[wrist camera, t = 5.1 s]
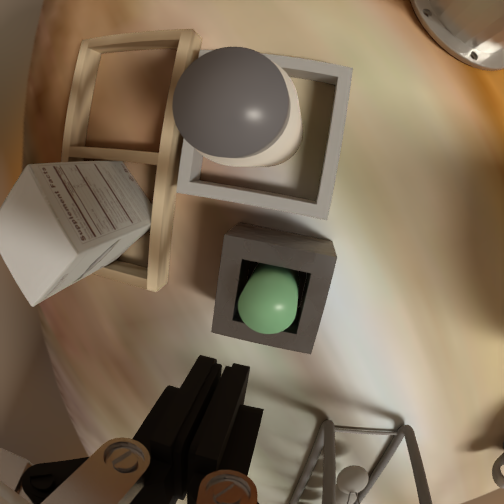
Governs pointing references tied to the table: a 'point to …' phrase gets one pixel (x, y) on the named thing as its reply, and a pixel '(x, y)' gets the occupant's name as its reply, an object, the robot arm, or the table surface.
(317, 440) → the newton's cradle
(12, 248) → the supplement box
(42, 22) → the table surface
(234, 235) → the grey square holder
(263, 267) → the button
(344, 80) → the frame
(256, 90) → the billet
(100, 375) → the table surface
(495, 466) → the coffee mug
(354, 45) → the table surface
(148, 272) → the wooden frame with crossbar
